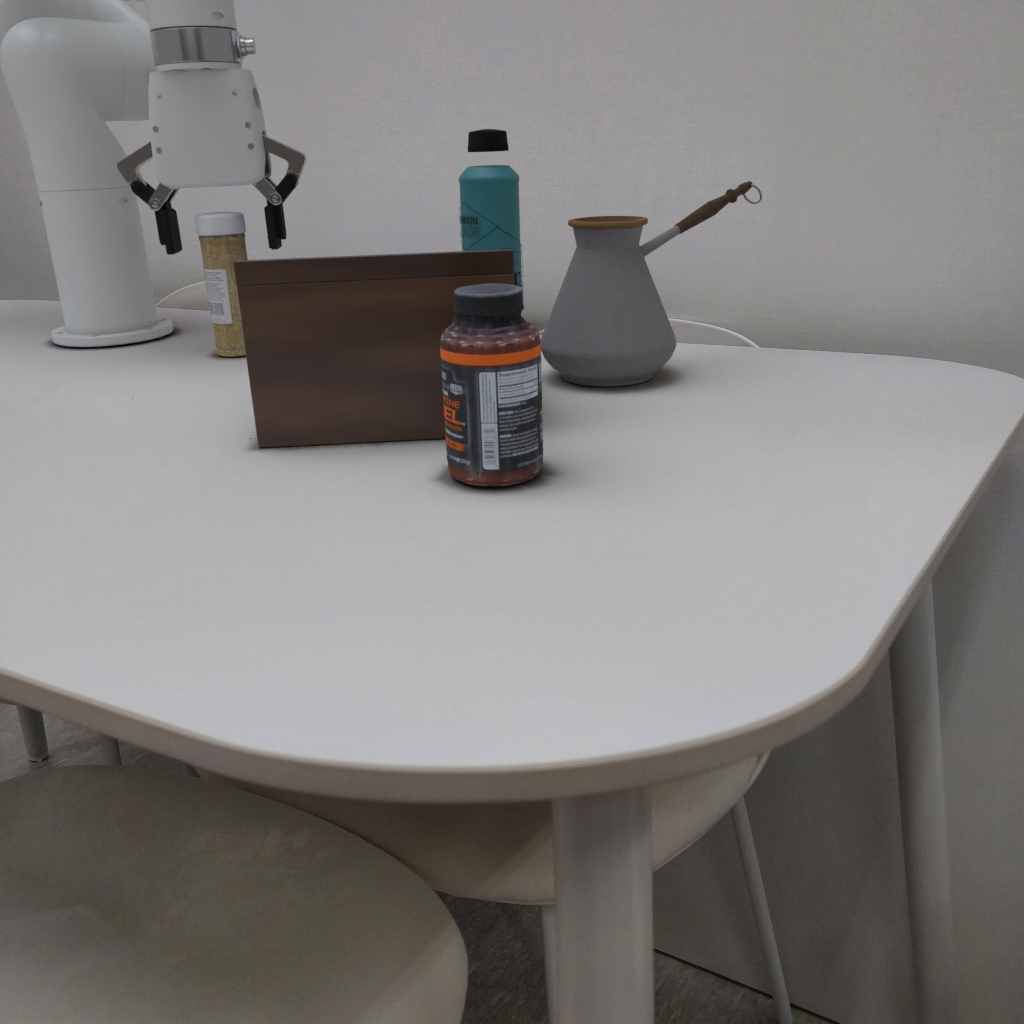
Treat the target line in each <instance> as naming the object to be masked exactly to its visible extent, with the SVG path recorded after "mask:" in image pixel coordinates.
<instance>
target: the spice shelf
mask: <svg viewBox="0 0 1024 1024" xmlns="http://www.w3.org/2000/svg"><path fill="white" fill-rule="evenodd" d="M233 264H234V271H235V279H236V285H237V293H238V300H239V308H240V315H241V322H242V330H243V337H244V345H245V352H246V356H245V358H246V359H245V360H246V366H247V372H248V380H249V387H250V396H251V403H252V410H253V418H254V425H255V433H256V438H257V447H258V448H279V447H298V446H299V447H300V446H318V445H319V446H321V445H335V444H336V445H340V444H359V443H360V444H361V443H379V442H380V443H381V442H399V441H417V440H420V441H421V440H438V439H446V438H445V421H444V404H443V388H442V372H441V354H440V338H441V335H442V333H443V331H444V330H445V329H446V328H448V327H449V326H451V325H452V323H453V320H454V317H455V312H454V310H453V308H454V291H455V290H456V289H457V288H460V287H464V286H471V285H478V284H511V285H514V255H513V249H502V250H478V251H462V250H456V251H433V252H432V251H431V252H409V253H385V254H382V253H381V254H361V255H336V256H315V257H314V256H313V257H311V256H310V257H290V258H289V257H287V258H266V259H248V260H239V261H234V262H233Z"/></svg>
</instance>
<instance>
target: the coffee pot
mask: <svg viewBox="0 0 1024 1024" xmlns="http://www.w3.org/2000/svg"><path fill="white" fill-rule="evenodd" d="M751 188H754V189H755V190H756V191H757V192H758V194H759V199H758V201H756V202H755V201H752V200H750V199H749V198H748V197H747V195H746V193H747V192H749V191H750V190H751ZM740 196H743V198H744V200H745V201H746V202H747V203H749V204H751V205H757V204H759V203H761V201H762V200H763V194H762V191H761V189H760V188H759V187H758V186H757V185H756V184H753V181H751V180H748V181H745V182H743V183H740V184H738V186H737V187H735V188H734V189H732V188H728V189H727V190H726V191H725V194H724V195H721V196H719V197H716V198H714V199H712V200H709V201H707V202H705V203H703V205H701V206H699V207H698V208H697V209H695V210H694V211H693V212H691V213H690V214H688V215H687V216H685V217H684V218H683V219H681V220H680V221H678V222H677V223H676V224H674V225H673V226H672V227H671V228H668V229H667V230H665V231H663V232H662V233H660V234H658V235H656V236H654V237H653V238H652V239H650V240H648V241H647V242H645V243H643V244H642V245H640V241H641V236H642V232H643V228H644V226H645V225H647V224H648V222H649V219H648V217H644V216H635V215H598V216H585V217H577V218H572V219H569V220H568V221H567V225H568V227H571V228H572V231H573V235H574V240H575V244H576V246H575V250H574V252H573V255H572V257H571V260H570V263H569V265H568V268H567V271H566V272H565V275H564V278H563V281H562V283H561V286H560V288H559V290H558V294H557V296H556V298H555V301H554V304H553V307H552V309H551V312H550V314H549V318H547V319H548V320H547V322H546V325H545V327H544V330H543V333H542V334H541V336H540V342H541V355H542V356H543V358H544V360H545V361H546V362H547V363H548V364H549V366H550V367H551V368H552V369H553V370H555V371H557V372H559V373H561V374H562V375H561V377H562V379H563V380H564V381H566V382H569V383H572V384H576V385H582V386H588V387H589V386H590V387H622V386H623V387H624V386H629V385H630V386H632V385H637V384H640V383H645V382H646V381H649V380H651V379H652V378H654V373H655V372H657V371H659V370H660V369H662V368H663V367H664V366H665V365H666V364H667V363H668V362H669V361H670V360H671V358H672V357H673V354H674V353H675V351H676V348H677V339H676V338H677V337H676V335H675V332H674V330H673V327H672V325H671V322H670V319H669V317H668V314H667V312H666V309H665V307H664V305H663V302H662V300H661V297H660V294H659V292H658V289H657V286H656V284H655V282H654V279H653V276H652V273H651V271H650V269H649V267H648V264H647V262H646V259H645V257H647V256H648V255H650V254H651V253H652V252H653V253H654V252H655V251H656V250H657V249H659V248H660V247H661V246H663V245H665V244H666V243H668V242H669V241H671V240H673V239H674V238H675V237H677V236H679V235H681V234H683V233H685V232H687V231H688V230H690V229H692V228H694V227H696V226H698V225H700V224H701V223H703V222H706V221H707V220H708V219H711V218H713V217H714V216H716V215H717V214H718V213H719V212H721V210H723V209H724V208H725V207H726V206H727V205H728V204H734V203H736V202H737V201H738V197H740Z"/></svg>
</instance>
